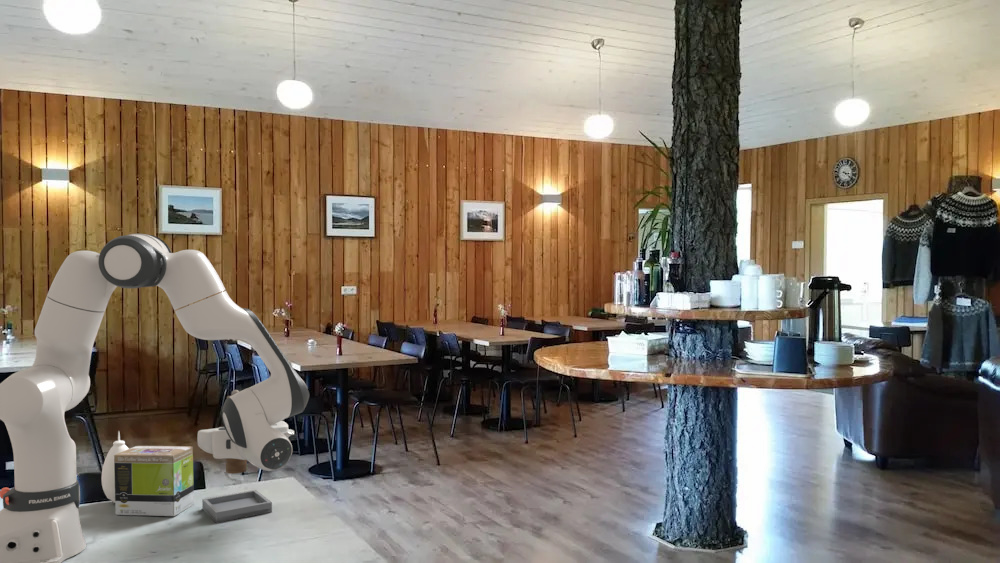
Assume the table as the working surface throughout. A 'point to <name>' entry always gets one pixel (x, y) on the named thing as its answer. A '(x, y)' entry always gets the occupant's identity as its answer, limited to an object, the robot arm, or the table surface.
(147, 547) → the table surface
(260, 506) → the serving tray
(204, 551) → the table surface
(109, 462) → the sauce bottle
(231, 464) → the pepper mill
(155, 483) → the tea box
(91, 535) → the table surface
